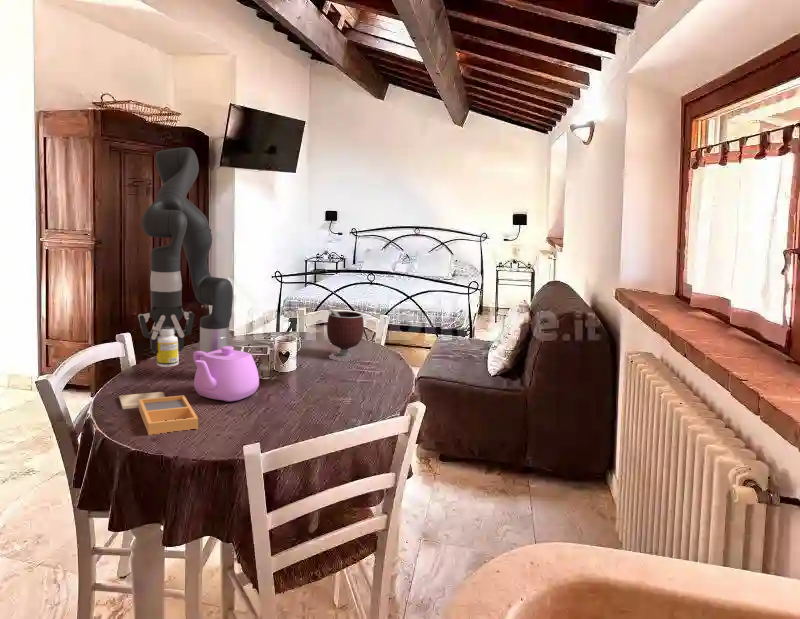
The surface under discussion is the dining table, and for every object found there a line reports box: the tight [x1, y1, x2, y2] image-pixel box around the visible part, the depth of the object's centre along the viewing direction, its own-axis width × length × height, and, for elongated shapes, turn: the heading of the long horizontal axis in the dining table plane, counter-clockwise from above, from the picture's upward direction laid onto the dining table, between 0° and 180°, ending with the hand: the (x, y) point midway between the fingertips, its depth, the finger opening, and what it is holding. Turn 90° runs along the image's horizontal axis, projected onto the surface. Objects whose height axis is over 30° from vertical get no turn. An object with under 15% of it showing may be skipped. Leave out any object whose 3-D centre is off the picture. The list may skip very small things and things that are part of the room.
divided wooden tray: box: [138, 394, 199, 436], centre depth 170 cm, size 12×20×3 cm, turn 29°
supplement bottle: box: [156, 326, 180, 368], centre depth 166 cm, size 5×5×10 cm
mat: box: [118, 391, 166, 410], centre depth 183 cm, size 12×10×1 cm
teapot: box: [192, 345, 260, 403], centre depth 189 cm, size 23×21×15 cm
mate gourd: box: [326, 308, 365, 358], centre depth 243 cm, size 16×14×20 cm
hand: (167, 351), depth 167 cm, fingers closed on supplement bottle, 5 cm apart
